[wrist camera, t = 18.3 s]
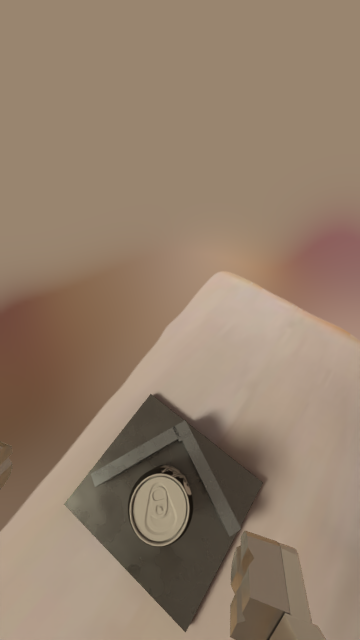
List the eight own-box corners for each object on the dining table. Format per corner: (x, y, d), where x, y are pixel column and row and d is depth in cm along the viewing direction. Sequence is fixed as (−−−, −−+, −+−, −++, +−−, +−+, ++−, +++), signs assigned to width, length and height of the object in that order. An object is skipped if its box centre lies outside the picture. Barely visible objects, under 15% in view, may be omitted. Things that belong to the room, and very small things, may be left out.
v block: (185, 626, 31) (186, 656, 26) (67, 502, 36) (51, 509, 32) (260, 482, 38) (272, 485, 33) (151, 395, 43) (148, 388, 38)
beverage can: (142, 526, 34) (127, 559, 24) (138, 468, 37) (123, 474, 26) (193, 517, 35) (199, 545, 24) (185, 460, 38) (188, 463, 27)
